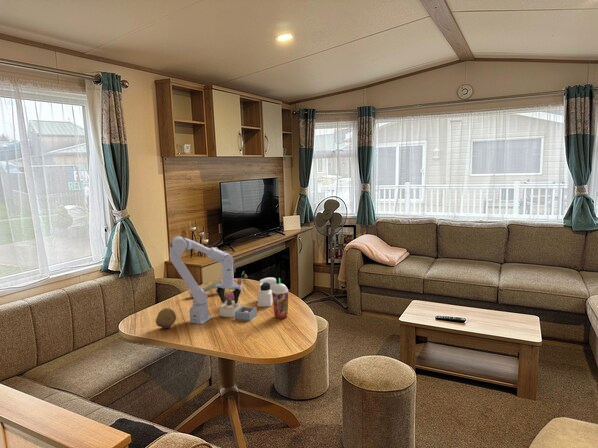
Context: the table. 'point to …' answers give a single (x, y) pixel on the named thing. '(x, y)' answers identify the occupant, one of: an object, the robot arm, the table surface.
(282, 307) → the smoothie
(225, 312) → the cream pot
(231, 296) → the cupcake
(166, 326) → the natural sponge
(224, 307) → the lid
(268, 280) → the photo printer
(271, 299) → the medicine bottle
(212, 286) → the flower vase
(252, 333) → the table surface
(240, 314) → the slate pot
